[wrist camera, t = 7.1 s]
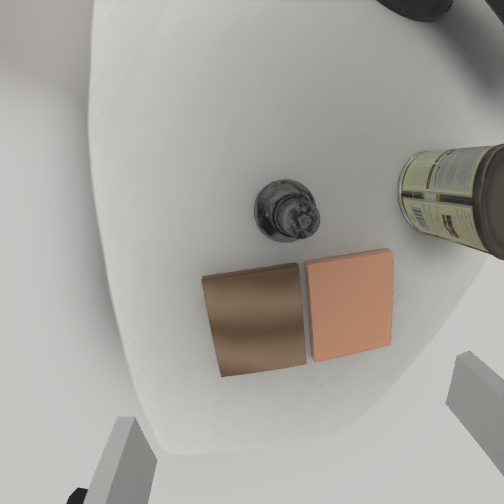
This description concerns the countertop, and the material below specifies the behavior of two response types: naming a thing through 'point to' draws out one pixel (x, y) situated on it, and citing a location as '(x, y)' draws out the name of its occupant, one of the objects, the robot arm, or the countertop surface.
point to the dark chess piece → (286, 211)
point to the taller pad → (350, 303)
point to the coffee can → (457, 196)
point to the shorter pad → (256, 319)
